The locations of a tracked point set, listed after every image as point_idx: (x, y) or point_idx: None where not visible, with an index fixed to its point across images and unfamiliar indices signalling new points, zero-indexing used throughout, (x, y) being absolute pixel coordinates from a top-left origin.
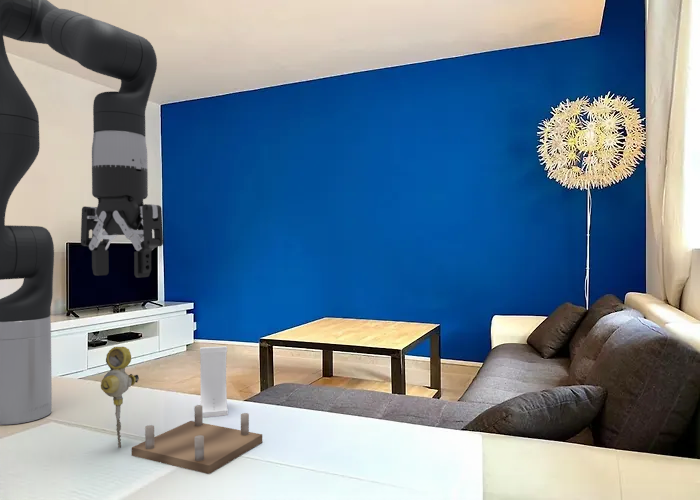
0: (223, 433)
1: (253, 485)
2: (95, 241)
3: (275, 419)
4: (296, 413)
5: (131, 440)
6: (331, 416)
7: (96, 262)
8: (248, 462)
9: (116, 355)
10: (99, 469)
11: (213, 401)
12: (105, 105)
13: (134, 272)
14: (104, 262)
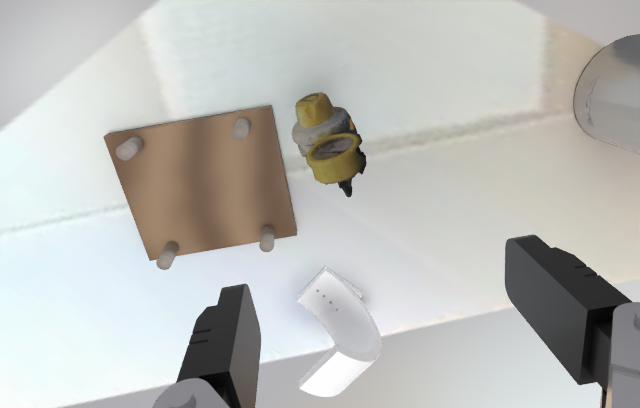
0: (201, 229)
1: (29, 147)
2: (634, 353)
3: None
4: None
5: None
6: (159, 375)
7: (543, 270)
8: (104, 194)
9: (337, 153)
10: (263, 42)
11: (334, 305)
12: None
13: (243, 291)
14: (540, 313)
